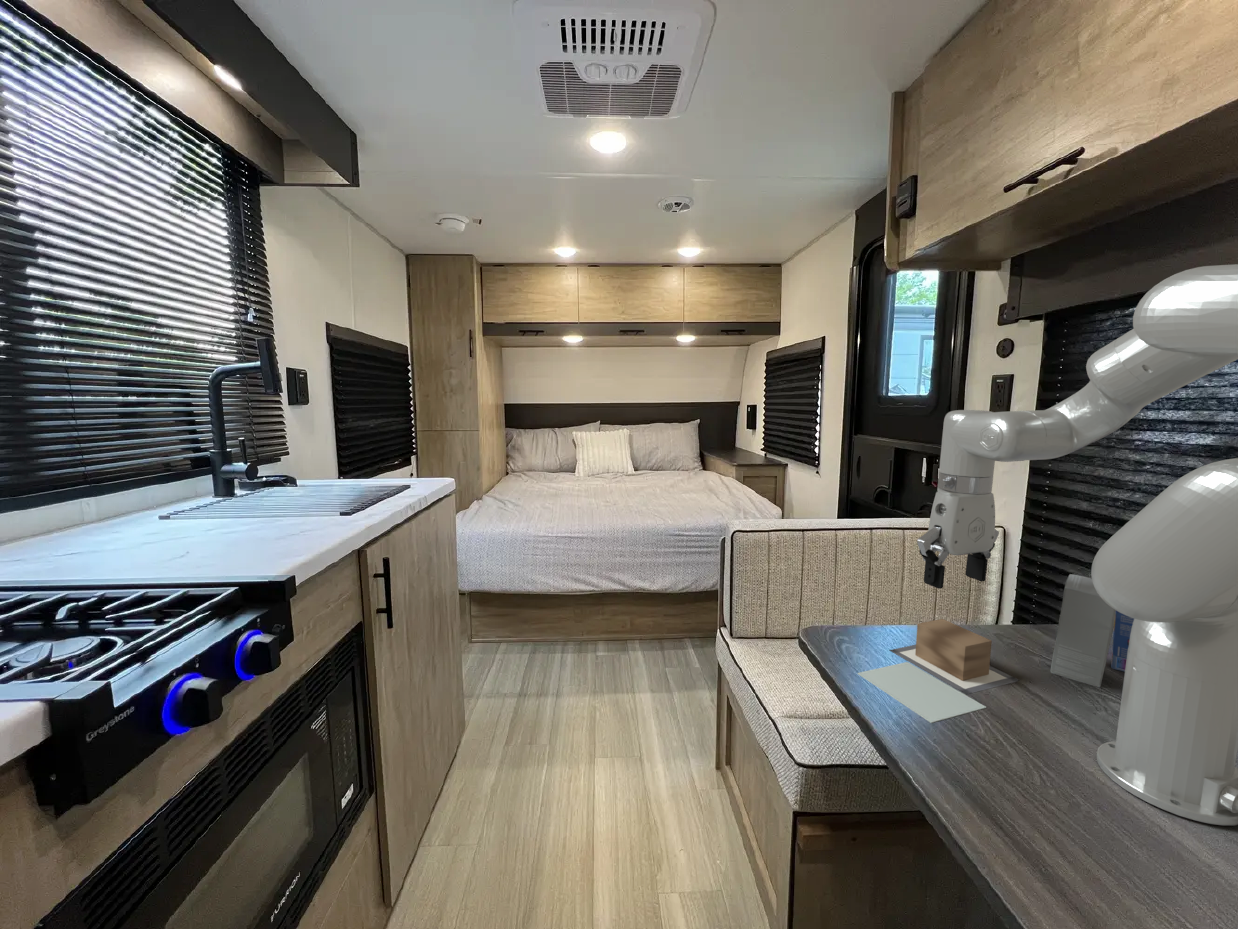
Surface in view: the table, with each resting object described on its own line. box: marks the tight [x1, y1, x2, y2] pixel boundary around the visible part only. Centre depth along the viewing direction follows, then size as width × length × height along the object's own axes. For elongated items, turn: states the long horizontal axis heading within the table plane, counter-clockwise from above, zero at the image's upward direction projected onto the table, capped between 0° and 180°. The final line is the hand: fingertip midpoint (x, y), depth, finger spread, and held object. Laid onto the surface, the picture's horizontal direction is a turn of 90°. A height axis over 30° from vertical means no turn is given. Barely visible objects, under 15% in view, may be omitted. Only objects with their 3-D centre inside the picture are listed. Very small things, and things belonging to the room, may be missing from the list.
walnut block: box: [915, 618, 993, 681], centre depth 89 cm, size 9×6×6 cm, turn 19°
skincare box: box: [1050, 573, 1116, 688], centre depth 85 cm, size 8×7×16 cm
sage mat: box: [857, 661, 987, 724], centre depth 82 cm, size 14×11×1 cm
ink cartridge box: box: [1110, 611, 1134, 673], centre depth 88 cm, size 10×6×14 cm, turn 135°
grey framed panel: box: [888, 644, 1020, 696], centre depth 89 cm, size 15×12×1 cm
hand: (954, 582), depth 88 cm, fingers open, 9 cm apart
